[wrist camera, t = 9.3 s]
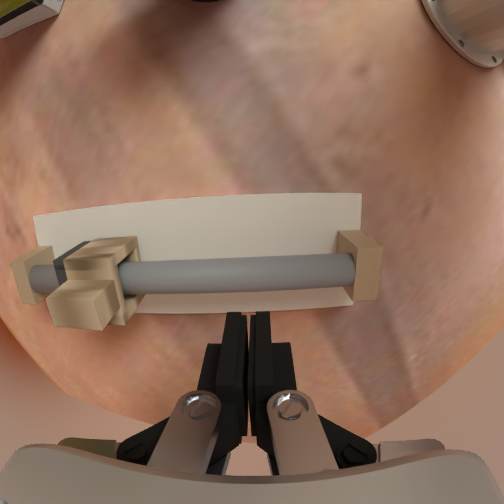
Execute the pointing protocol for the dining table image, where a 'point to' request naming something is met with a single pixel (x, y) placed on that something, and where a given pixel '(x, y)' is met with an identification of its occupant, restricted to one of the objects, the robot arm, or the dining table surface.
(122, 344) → the dining table surface
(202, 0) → the coffee mug
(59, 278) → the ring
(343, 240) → the pipe rail
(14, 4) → the tea box
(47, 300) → the sleeve
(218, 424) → the robot arm
